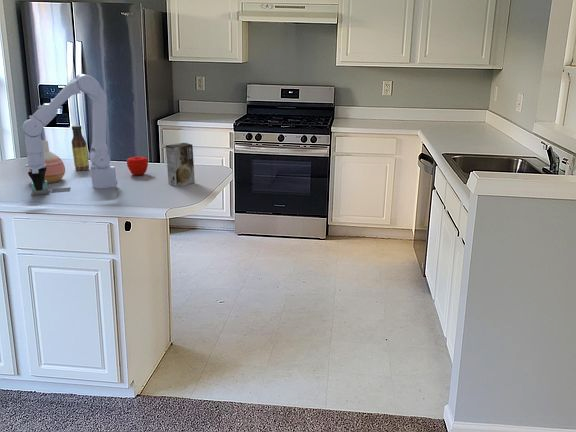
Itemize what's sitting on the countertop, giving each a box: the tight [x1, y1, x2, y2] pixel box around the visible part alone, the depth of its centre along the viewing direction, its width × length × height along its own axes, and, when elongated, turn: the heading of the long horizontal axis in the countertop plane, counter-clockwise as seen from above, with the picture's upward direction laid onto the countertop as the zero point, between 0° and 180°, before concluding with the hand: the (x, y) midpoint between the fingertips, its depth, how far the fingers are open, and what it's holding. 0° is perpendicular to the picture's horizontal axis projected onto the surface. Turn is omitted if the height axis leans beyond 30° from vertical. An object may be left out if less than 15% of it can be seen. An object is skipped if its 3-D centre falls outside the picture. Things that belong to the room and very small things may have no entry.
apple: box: [126, 156, 149, 176], centre depth 246 cm, size 9×9×8 cm
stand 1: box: [30, 190, 52, 197], centre depth 212 cm, size 7×7×1 cm
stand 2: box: [50, 187, 71, 194], centre depth 216 cm, size 7×7×1 cm
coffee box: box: [165, 142, 196, 187], centre depth 229 cm, size 9×6×16 cm
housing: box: [30, 180, 49, 196], centre depth 211 cm, size 5×5×4 cm
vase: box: [28, 139, 66, 184], centre depth 229 cm, size 14×14×18 cm
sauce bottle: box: [71, 125, 90, 172], centre depth 255 cm, size 7×6×20 cm
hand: (39, 188), depth 211 cm, fingers closed on housing, 5 cm apart
